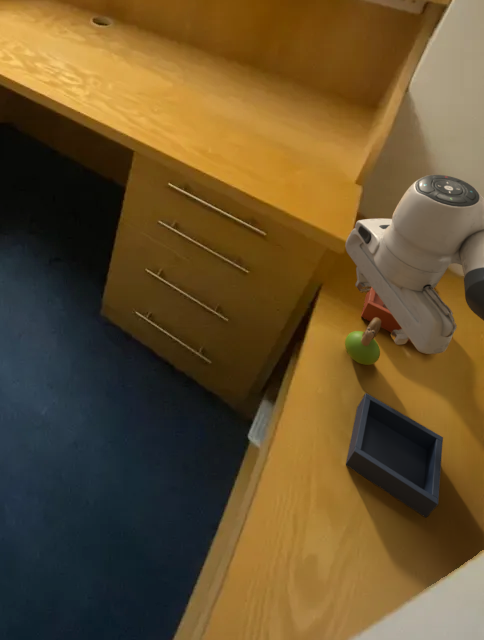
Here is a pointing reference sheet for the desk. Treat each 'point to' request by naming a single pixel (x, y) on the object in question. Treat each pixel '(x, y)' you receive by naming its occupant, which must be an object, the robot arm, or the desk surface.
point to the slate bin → (396, 454)
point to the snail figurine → (364, 344)
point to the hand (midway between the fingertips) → (378, 313)
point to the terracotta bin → (379, 312)
